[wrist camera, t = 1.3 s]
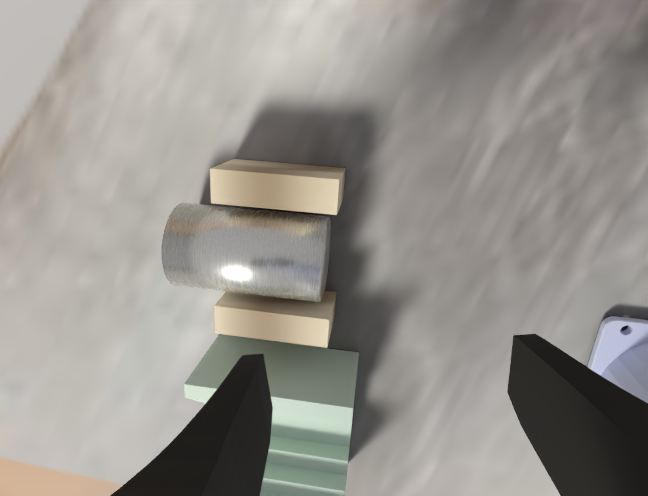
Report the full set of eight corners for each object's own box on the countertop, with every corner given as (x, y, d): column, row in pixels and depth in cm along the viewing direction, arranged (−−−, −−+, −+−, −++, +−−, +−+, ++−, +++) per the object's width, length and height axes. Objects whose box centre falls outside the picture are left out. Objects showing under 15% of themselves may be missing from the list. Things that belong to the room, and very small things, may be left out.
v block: (359, 352, 24) (353, 408, 19) (347, 463, 26) (340, 533, 22) (219, 334, 24) (184, 384, 20) (222, 444, 27) (192, 507, 23)
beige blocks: (345, 167, 20) (339, 179, 17) (334, 317, 23) (327, 347, 20) (233, 158, 21) (209, 168, 18) (235, 305, 24) (215, 333, 21)
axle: (332, 207, 21) (321, 231, 17) (327, 280, 23) (316, 317, 19) (197, 194, 22) (158, 215, 18) (200, 266, 23) (164, 299, 20)
